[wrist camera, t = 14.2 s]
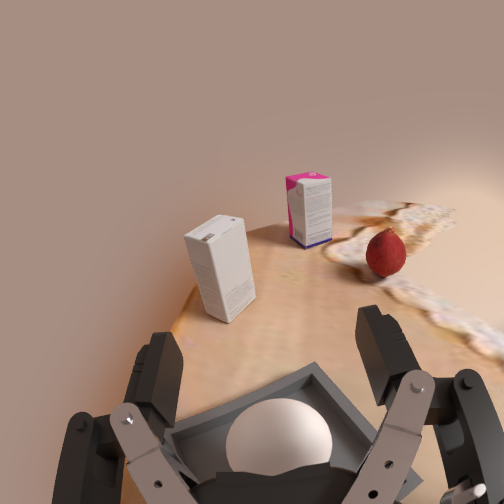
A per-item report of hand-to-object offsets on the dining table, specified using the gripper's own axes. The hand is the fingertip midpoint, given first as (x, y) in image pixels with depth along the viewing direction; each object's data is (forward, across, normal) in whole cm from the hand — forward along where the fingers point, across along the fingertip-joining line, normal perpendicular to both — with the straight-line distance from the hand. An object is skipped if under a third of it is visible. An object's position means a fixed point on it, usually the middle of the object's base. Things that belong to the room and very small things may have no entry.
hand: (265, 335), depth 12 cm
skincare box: (+21, +5, +17) cm, 27 cm away
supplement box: (+37, -8, +17) cm, 41 cm away
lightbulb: (-2, 0, +16) cm, 16 cm away
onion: (+23, -17, +17) cm, 33 cm away
